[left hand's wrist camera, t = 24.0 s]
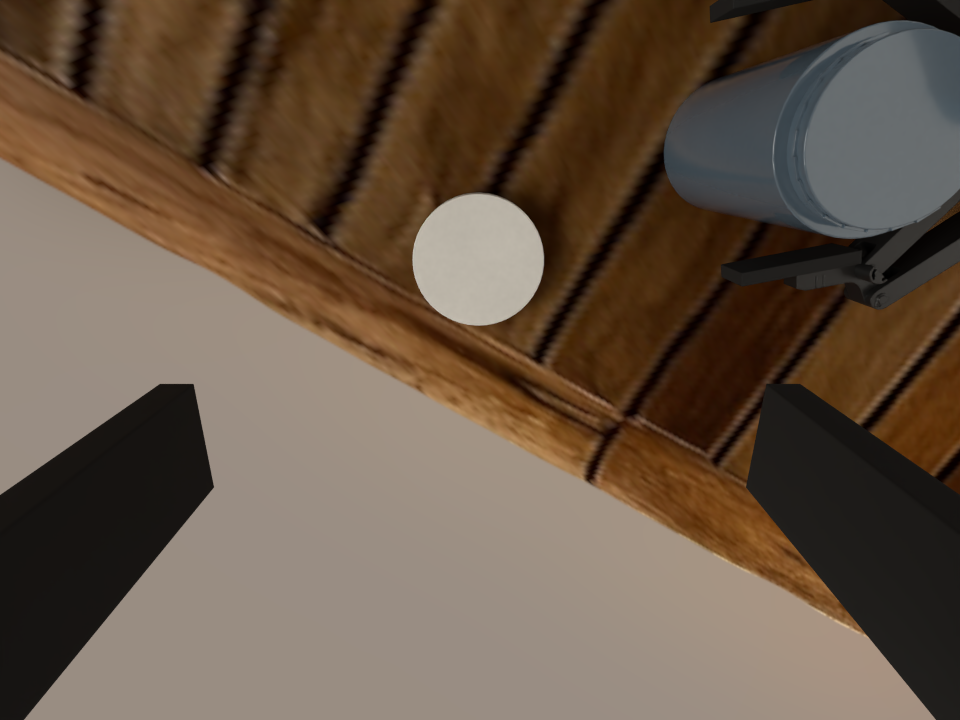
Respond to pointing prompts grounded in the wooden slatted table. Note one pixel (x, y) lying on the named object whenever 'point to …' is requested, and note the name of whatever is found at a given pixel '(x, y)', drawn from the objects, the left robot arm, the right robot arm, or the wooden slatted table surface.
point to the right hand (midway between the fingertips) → (725, 152)
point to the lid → (478, 259)
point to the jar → (828, 134)
